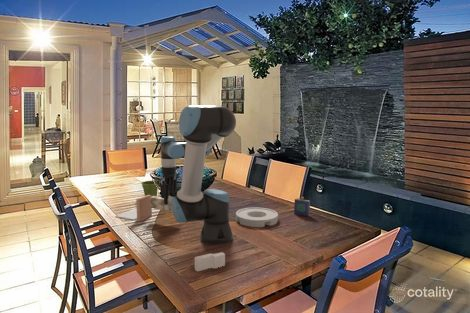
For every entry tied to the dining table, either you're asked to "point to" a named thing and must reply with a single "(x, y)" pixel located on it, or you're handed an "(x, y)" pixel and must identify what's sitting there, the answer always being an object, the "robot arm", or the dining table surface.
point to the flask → (302, 207)
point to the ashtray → (256, 217)
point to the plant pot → (149, 188)
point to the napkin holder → (209, 261)
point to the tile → (143, 207)
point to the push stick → (159, 203)
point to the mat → (129, 214)
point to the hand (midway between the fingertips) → (169, 209)
